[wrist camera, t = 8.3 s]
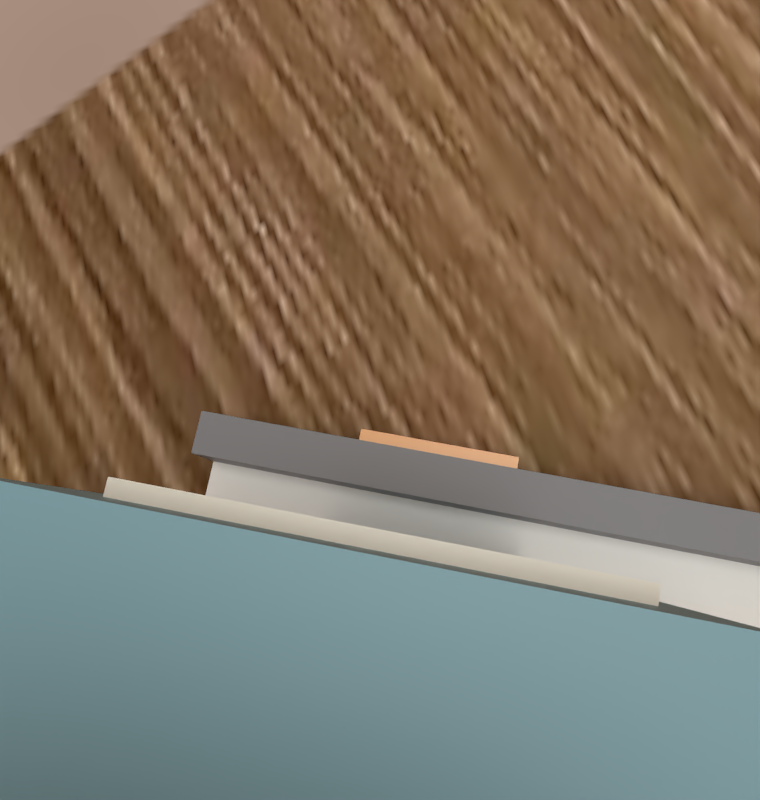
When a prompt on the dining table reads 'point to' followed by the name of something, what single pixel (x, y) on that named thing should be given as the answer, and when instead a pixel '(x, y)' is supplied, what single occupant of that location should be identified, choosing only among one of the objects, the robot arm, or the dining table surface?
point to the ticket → (439, 448)
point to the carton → (344, 663)
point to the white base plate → (493, 510)
